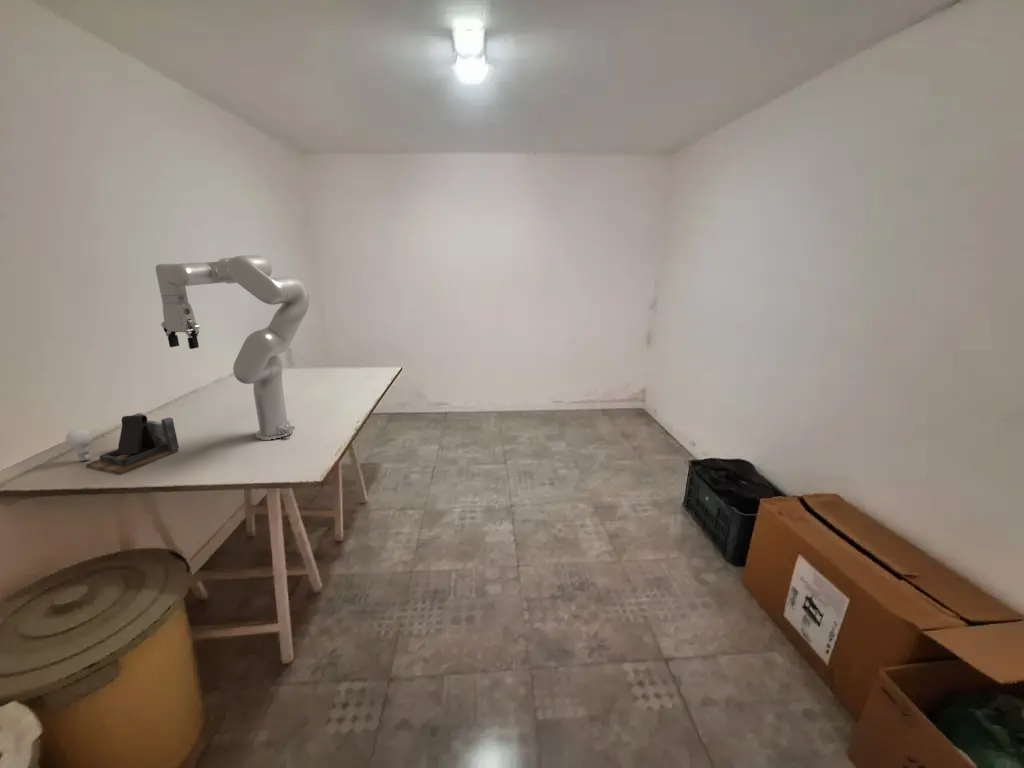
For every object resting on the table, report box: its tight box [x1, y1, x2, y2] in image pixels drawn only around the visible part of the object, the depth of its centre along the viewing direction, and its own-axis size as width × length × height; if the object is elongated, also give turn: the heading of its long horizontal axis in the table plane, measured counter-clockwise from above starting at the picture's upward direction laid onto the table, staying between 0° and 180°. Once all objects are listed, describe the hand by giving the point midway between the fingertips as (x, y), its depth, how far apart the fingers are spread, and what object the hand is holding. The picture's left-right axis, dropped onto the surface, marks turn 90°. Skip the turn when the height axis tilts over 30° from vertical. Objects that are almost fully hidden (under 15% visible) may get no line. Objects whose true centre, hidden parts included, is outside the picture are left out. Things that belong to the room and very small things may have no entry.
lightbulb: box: [65, 428, 93, 462], centre depth 151 cm, size 6×6×11 cm
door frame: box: [86, 412, 180, 476], centre depth 152 cm, size 16×18×12 cm
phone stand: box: [117, 414, 155, 455], centre depth 154 cm, size 9×6×12 cm, turn 4°
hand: (184, 347), depth 170 cm, fingers open, 9 cm apart
